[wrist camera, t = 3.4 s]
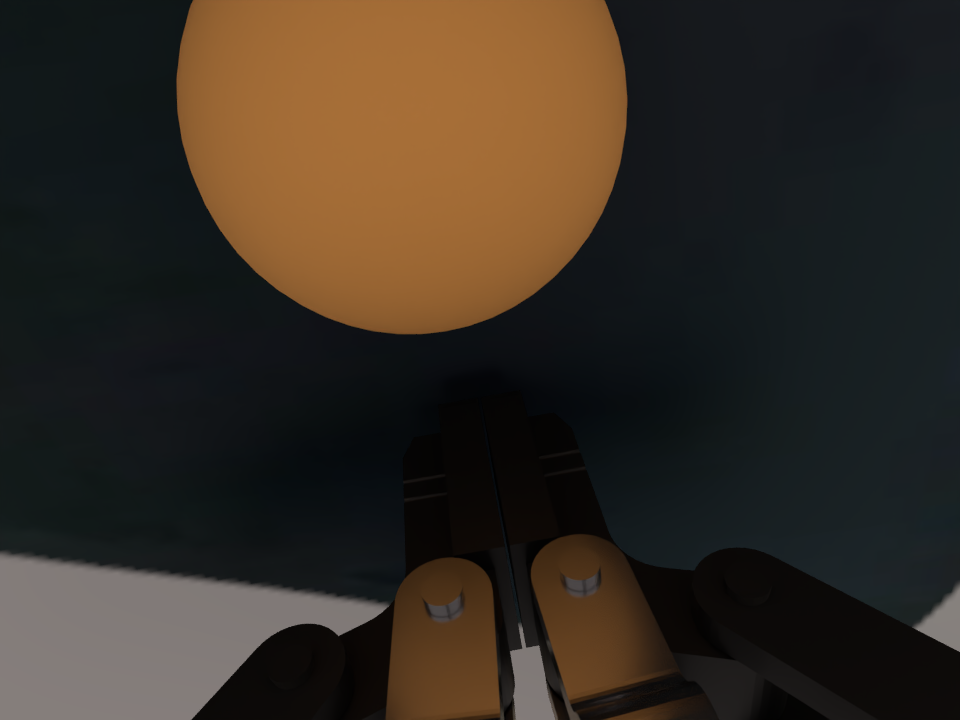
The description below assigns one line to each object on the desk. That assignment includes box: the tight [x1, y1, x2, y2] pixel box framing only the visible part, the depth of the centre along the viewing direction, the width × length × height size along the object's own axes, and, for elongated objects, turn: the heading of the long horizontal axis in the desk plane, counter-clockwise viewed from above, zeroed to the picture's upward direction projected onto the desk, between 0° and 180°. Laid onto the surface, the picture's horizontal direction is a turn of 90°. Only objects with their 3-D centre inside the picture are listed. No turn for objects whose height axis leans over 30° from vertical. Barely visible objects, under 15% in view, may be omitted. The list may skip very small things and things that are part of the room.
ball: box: [177, 0, 627, 334], centre depth 8 cm, size 5×5×5 cm
